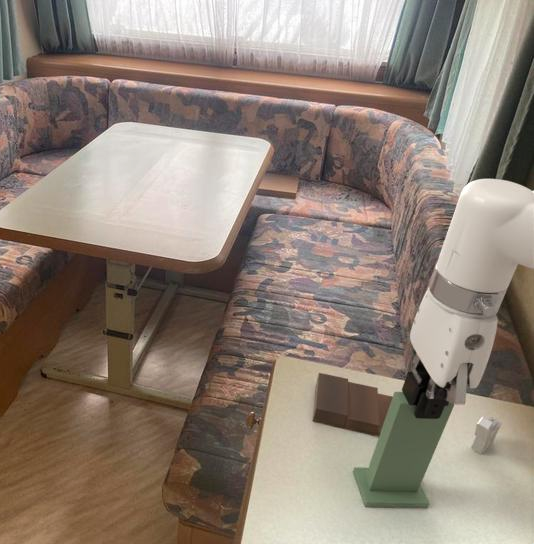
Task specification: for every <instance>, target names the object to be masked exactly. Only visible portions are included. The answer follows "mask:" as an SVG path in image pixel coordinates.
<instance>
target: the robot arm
mask: <svg viewBox="0 0 534 544" xmlns="http://www.w3.org/2000/svg"><path fill="white" fill-rule="evenodd" d="M447 229H448V230H447V233H446V235H445V237H444V241H443V244H442V247H441V251H440V252H439V255H438V258H437V262H436V264H435V268H434V271H433V273H432V276H431V279H430V282H429V285H428V287H427V290H426V292H425V293H424V296H423V298H422V300H421V302H420V304H419V306H418V309H417V312H416V314H415V317H414V319H413V323H412V326H411V329H410V333H409V340H410V343H411V345H412V347H413V356H414V357H413V360H412V361H411V364H410V370H411V372H413V369H416V370H417V372H428V373H429V375H430V376H431V377H430V380H429V384H428V387H427V390H426V392H422V394H421V396H420V399H419V402H418V404H417V407H416V409H415V412H414V415H415V417H416V418H418V419H438V418H440V416H441V414H442V412H443V409H444V407H445V404H446V402H447V401H448V402H450V403H451V404H453V405H454V406H455V405H456V406H458V405H459V406H464V405H466V401H467V387H468V388H469V389H477V387H478V386H479V385H480V382H481V380H482V378H483V376H484V374H485V371H486V368H487V365H488V362H489V360H490V357H491V354H492V350H493V347H494V342H495V338H496V334H497V329H498V322H499V318H498V316H497V314H498V312H499V309H500V307H501V305H502V303H503V300H504V298H505V295H506V294H507V291H508V288H509V286H510V284H511V281H512V279H513V277H514V274H515V272H516V269H517V267H518V265H520V266H523V267H526V268H529V269H532V270H534V190H532V189H530V188H528V187H526V186H524V185H522V184H519V183H516V182H513V181H510V180H506V179H498V178H479V179H476V180H473V181H470V182H469V183H468V184H466V185H465V186H464V188H463V189H462V191H461V192H460V196H459V198H458V200H457V202H456V206H455V209H454V212H453V215H452V217H451V220H450V224H449V226H448V228H447ZM438 386H440V387H442V388H439V389H437V388H438ZM444 387H445V388H444Z"/></svg>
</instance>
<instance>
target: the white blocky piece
mask: <svg viewBox="0 0 534 544" xmlns="http://www.w3.org/2000/svg"><path fill="white" fill-rule="evenodd" d="M502 425H503V423H502V422H501V421H499V420H498V419H497V418H494V417H492V416H490V417H489V418H488V419H487V418H485V417H484V416H482V417H481V418H480V419H479V420H478V422H477V423H476V427H475V431H474V436H475V437H474V439H473V441H472V444H471V446H470V449H471V450H473V451H474V452H475V453H478V454H479V455H482V454H484V453H485V451H487V449H488V448H490V446H491V445H492V444H493V443H494V440H495V438H496V437H497V434H498V432H499V430H500V428H501V426H502Z"/></svg>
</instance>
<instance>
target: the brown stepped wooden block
mask: <svg viewBox="0 0 534 544" xmlns="http://www.w3.org/2000/svg"><path fill="white" fill-rule="evenodd" d="M378 390H379V389H378V387H375V386H372V385H371V386H370V385H367V384H361V383H357V382H353V381H349V378H346V377H341V376H338V375H332V374H327V373H324V372H323V373H322V372H318V374H317V377H316V383H315V389H314V400H313V415H312V422H314V423H317V424H322V425H326V426H331V427H335V428H338V429H339V428H340V429H344V430H349V431H352V432H357V433H361V434H367V435H371V436H374V437H378V438H379V436H380V433H381V430H382V427H383V424H384V421H385V418H386V415H387V412H388V410H389V407H390V404H391V401H392V398H393V396H392V395H387V394H383V393H379V391H378Z"/></svg>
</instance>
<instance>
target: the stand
mask: <svg viewBox="0 0 534 544" xmlns="http://www.w3.org/2000/svg"><path fill="white" fill-rule="evenodd" d="M392 397H393V398H392V401H391V404H390V407H389V410H388V412H387V415H386V418H385V421H384V424H383V427H382V430H381V433H380V436H379V437H378V438H377V441H376V444H375V448H374V450H373V453H372V456H371V459H370V462H369V465H368V467H359V466H357V467H353V470H352V473H353V477H354V480H355V482H356V485H357V488H358V491H359V494H360V496H361V500H362V502H363V505H364V507H365V508H411V509H412V508H414V509H415V508H416V509H417V508H418V509H422V508H423V509H428V508H429V506H430V504H431V503H430V501H429V499H428V497H427V494H426V491H425V490H424V488H423V486H422V482H423V480H424V478H425V475H426V473H427V470H428V468H429V465H430V464H431V461H432V459H433V456H434V454H435V452H436V449H437V447H438V444H439V442H440V440H441V438H442V436H443V434H444V431H445V428H446V426H447V424H448V421H449V419H450V416H451V415H452V412H453V409H454V408H455V407H454V406H455V405H453V404H451V403H450V402H449V404H448V406H445V407H444V409H443V412H442V414H441V416H440V418H438V419H418V418H416V417H415V415H414V412H415V409H416V407H417V405H409V403H408V401H407V400H406V398H405V396H404V394H403V392H402V391H394V392H393V396H392Z"/></svg>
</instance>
